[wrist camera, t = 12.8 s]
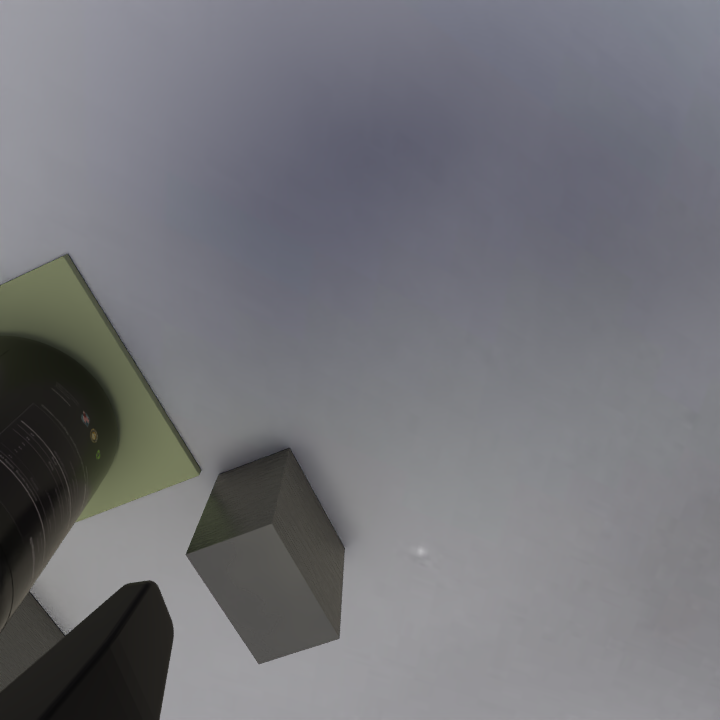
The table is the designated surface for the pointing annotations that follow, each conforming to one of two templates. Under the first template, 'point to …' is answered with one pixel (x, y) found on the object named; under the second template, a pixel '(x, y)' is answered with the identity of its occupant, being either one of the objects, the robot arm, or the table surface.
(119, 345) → the mat
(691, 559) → the table surface
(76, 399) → the supplement bottle
